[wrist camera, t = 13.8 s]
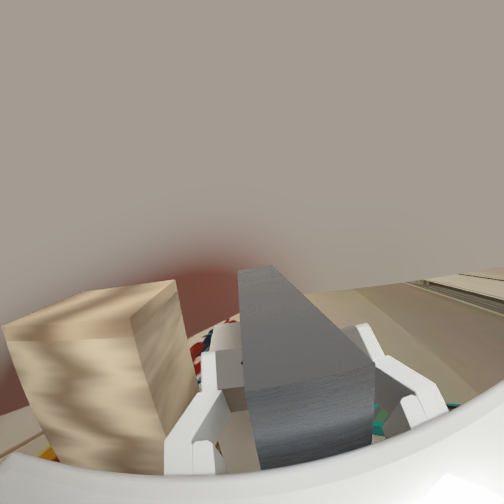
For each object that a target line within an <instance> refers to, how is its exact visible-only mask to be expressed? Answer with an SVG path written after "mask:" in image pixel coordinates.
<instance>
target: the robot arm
mask: <svg viewBox="0 0 504 504" xmlns="http://www.w3.org/2000/svg"><path fill="white" fill-rule="evenodd" d="M340 330H341V331H342V332H343V333H344V334H345V335H346V336H347V337H348V338H349V339H350V340H351V341H352V342H354V343H355V344H356V345H357V346H358V347H359V348H360V349H361V350H362V351H363V352H364V353H365V354H366V355H367V356H368V357H369V358H370V359H371V360H372V361H374V362H375V398H374V402H375V403H377V404H378V405H379V406H380V407H381V408H383V409H384V410H385V411H386V412H388V413H389V414H390V417H389V418H388V419H387V421H386V422H385V424H384V425H383V427H382V429H383V432H384V435H385V438H386V439H385V440H382V441H379V442H376V443H374V444H371V445H368V446H365V447H362V448H358V449H355V450H352V451H348V452H345V453H342V454H338V455H334V456H330V457H327V458H323V459H318V460H314V461H310V462H305V463H300V464H295V465H290V466H285V467H279V468H273V469H266V470H259V471H252V472H243V473H233V474H228V473H227V464H226V461H225V459H224V458H223V457H222V455H221V454H220V453H219V451H218V450H217V449H216V447H215V445H216V443H217V441H218V439H219V437H220V436H221V434H222V432H223V430H224V428H225V426H226V424H227V422H228V420H229V418H230V416H231V413H232V412H239V411H245V410H248V407H247V402H246V397H245V391H244V376H243V360H242V348H237V349H228V350H219V351H210V352H202V354H201V392H197V394H196V395H195V397H194V398H193V400H192V401H191V403H190V404H189V406H188V407H187V409H186V410H185V412H184V413H183V414H182V416H181V417H180V419H179V420H178V422H177V423H176V425H175V426H174V428H173V429H172V430H171V432H170V433H169V435H168V436H167V438H166V439H165V441H164V476H159V475H140V474H128V473H118V472H110V471H102V470H95V469H89V468H83V467H78V466H73V465H68V464H63V463H59V462H54V461H50V460H46V459H42V458H39V457H35V456H32V455H28V454H25V453H22V452H13V453H11V454H10V455H9V456H8V457H7V458H5V459H4V460H3V461H2V462H1V464H0V504H504V379H503V380H502V381H500V382H499V383H497V384H496V385H494V386H493V387H491V388H490V389H488V390H486V391H485V392H483V393H481V394H480V395H478V396H476V397H475V398H473V399H471V400H469V401H468V402H466V403H464V404H462V405H460V406H459V407H457V408H455V409H453V410H451V411H449V410H448V408H447V406H446V404H445V402H444V400H443V398H442V396H441V394H440V392H439V390H438V388H437V386H436V384H435V383H433V382H432V381H430V380H428V379H427V378H425V377H423V376H422V375H420V374H419V373H417V372H415V371H414V370H412V369H410V368H409V367H407V366H406V365H404V364H402V363H401V362H399V361H397V360H396V359H394V358H393V357H391V356H389V355H386V356H385V355H384V353H383V351H382V349H381V347H380V345H379V343H378V341H377V339H376V337H375V335H374V333H373V331H372V329H371V328H370V326H369V324H367V323H363V324H359V325H356V326H350V327H346V328H342V329H340Z"/></svg>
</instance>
